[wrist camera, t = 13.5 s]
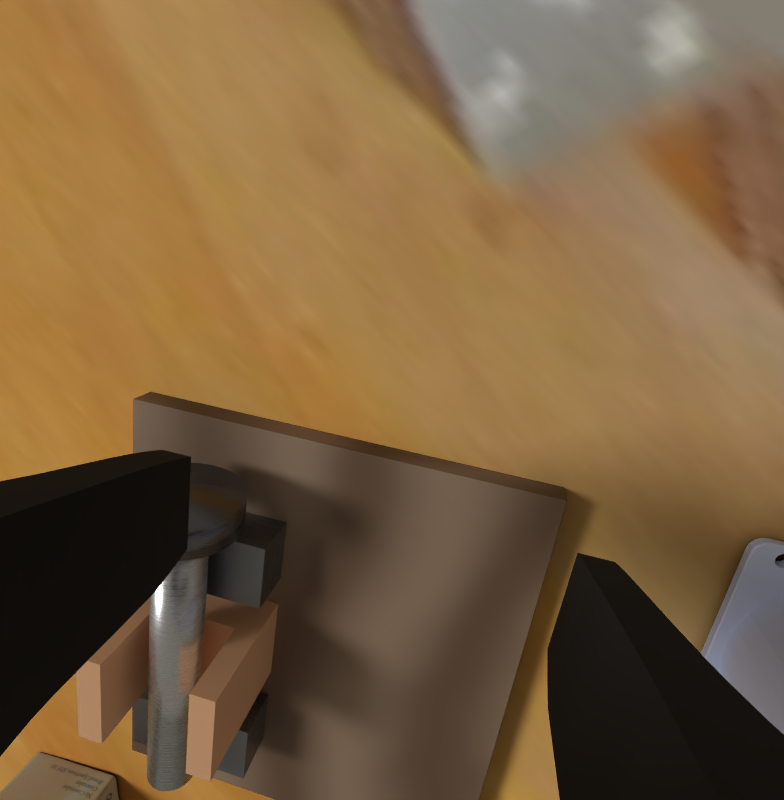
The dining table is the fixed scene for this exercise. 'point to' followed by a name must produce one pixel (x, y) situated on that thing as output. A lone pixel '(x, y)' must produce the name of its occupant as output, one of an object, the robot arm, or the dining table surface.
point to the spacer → (209, 699)
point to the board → (377, 603)
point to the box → (59, 782)
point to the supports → (250, 585)
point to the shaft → (186, 620)
